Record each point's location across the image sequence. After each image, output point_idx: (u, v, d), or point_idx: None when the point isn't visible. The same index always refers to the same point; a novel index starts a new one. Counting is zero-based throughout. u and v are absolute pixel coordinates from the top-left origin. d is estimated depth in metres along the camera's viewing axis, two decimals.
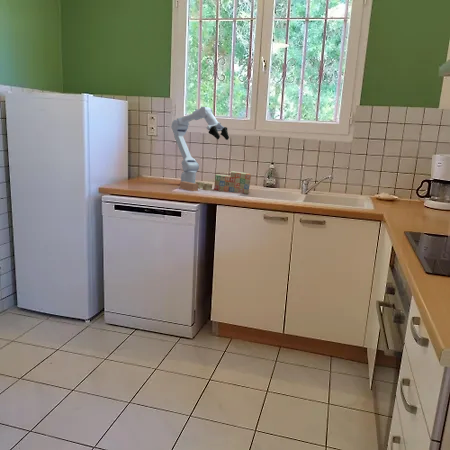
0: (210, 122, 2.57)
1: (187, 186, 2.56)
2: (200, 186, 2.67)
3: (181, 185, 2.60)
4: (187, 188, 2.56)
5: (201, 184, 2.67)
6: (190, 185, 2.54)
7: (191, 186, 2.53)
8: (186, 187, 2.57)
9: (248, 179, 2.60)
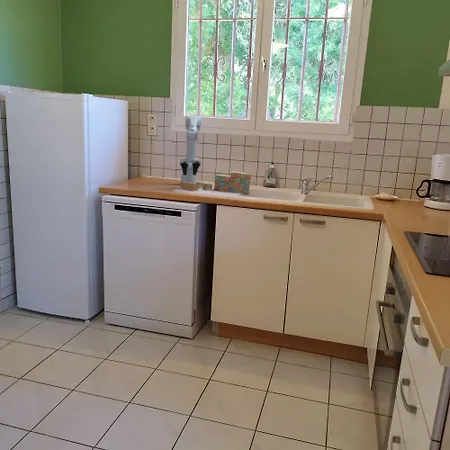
0: (187, 153, 2.51)
1: (187, 186, 2.56)
2: (200, 186, 2.67)
3: (181, 185, 2.60)
4: (187, 188, 2.56)
5: (201, 184, 2.67)
6: (190, 185, 2.54)
7: (191, 186, 2.53)
8: (186, 187, 2.57)
9: (248, 179, 2.60)
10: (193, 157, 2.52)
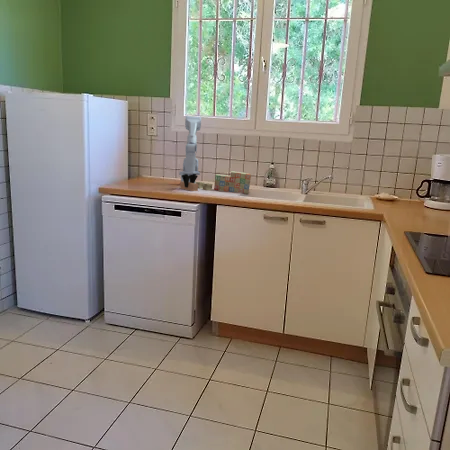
0: (187, 166, 2.53)
1: None
2: (200, 186, 2.67)
3: (181, 185, 2.60)
4: (187, 188, 2.56)
5: (201, 184, 2.67)
6: (190, 185, 2.54)
7: (191, 186, 2.53)
8: (186, 187, 2.57)
9: (248, 179, 2.60)
10: (192, 169, 2.54)
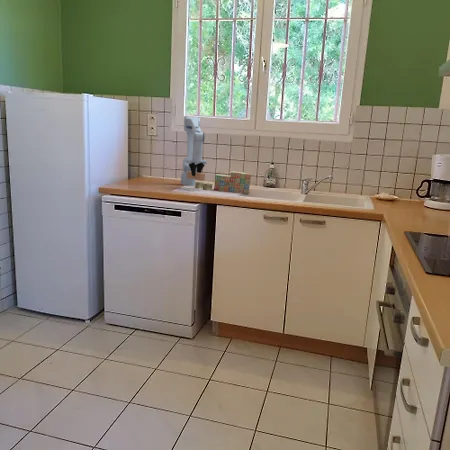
0: (194, 154, 2.55)
1: (194, 176, 2.58)
2: (200, 186, 2.67)
3: (188, 175, 2.62)
4: (193, 178, 2.59)
5: (201, 184, 2.67)
6: (197, 175, 2.57)
7: (198, 176, 2.56)
8: (193, 177, 2.59)
9: (248, 179, 2.60)
10: (199, 158, 2.56)
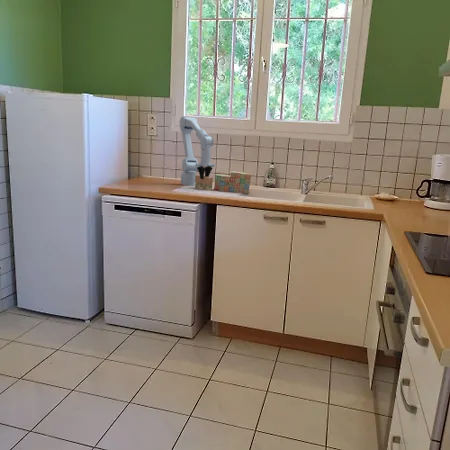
0: (202, 158, 2.60)
1: (202, 180, 2.64)
2: (200, 186, 2.67)
3: (196, 179, 2.68)
4: (202, 182, 2.64)
5: (201, 184, 2.67)
6: (205, 179, 2.62)
7: (206, 180, 2.61)
8: (201, 181, 2.65)
9: (248, 179, 2.60)
10: (208, 161, 2.61)
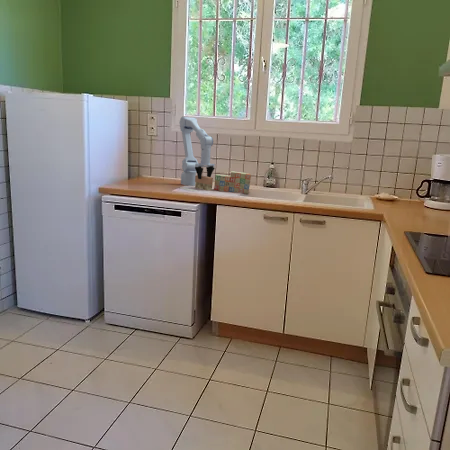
0: (202, 158, 2.60)
1: (202, 180, 2.64)
2: (200, 186, 2.67)
3: (196, 179, 2.68)
4: (202, 182, 2.64)
5: (201, 184, 2.67)
6: (205, 179, 2.62)
7: (206, 180, 2.61)
8: (201, 181, 2.65)
9: (248, 179, 2.60)
10: (208, 161, 2.61)
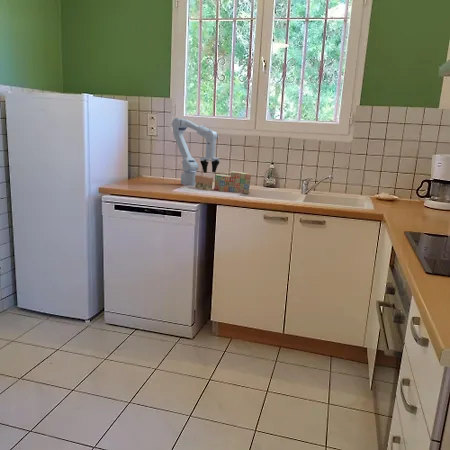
0: (207, 152, 2.66)
1: (202, 180, 2.64)
2: (200, 186, 2.67)
3: (196, 179, 2.68)
4: (202, 182, 2.64)
5: (201, 184, 2.67)
6: (205, 179, 2.62)
7: (206, 180, 2.61)
8: (201, 181, 2.65)
9: (248, 179, 2.60)
10: (213, 155, 2.66)
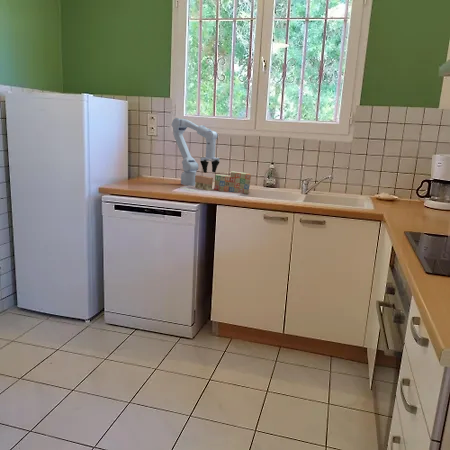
0: (207, 152, 2.66)
1: (202, 180, 2.64)
2: (200, 186, 2.67)
3: (196, 179, 2.68)
4: (202, 182, 2.64)
5: (201, 184, 2.67)
6: (205, 179, 2.62)
7: (206, 180, 2.61)
8: (201, 181, 2.65)
9: (248, 179, 2.60)
10: (213, 155, 2.66)
